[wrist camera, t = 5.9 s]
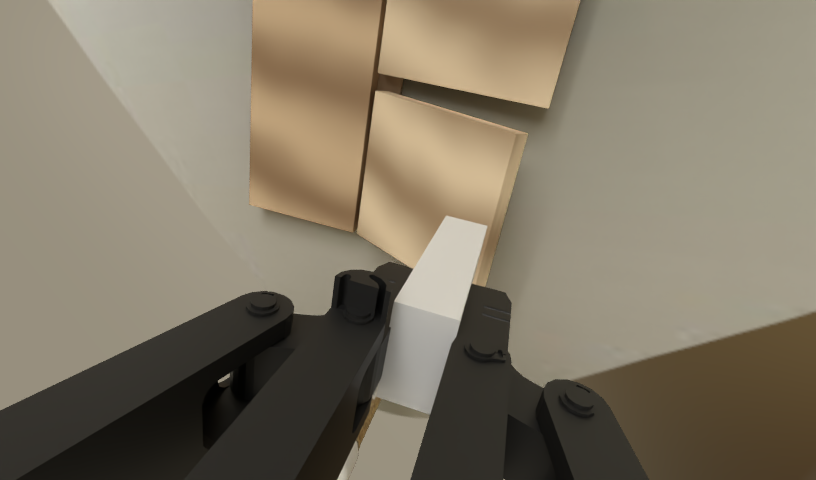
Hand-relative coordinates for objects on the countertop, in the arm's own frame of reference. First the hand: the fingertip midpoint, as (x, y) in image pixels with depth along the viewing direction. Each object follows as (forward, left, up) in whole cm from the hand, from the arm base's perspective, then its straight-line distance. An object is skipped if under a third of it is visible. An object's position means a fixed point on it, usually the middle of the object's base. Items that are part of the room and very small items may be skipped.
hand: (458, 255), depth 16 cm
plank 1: (-9, -3, -13) cm, 16 cm away
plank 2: (+1, -3, -10) cm, 11 cm away
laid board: (-4, -12, -13) cm, 19 cm away
